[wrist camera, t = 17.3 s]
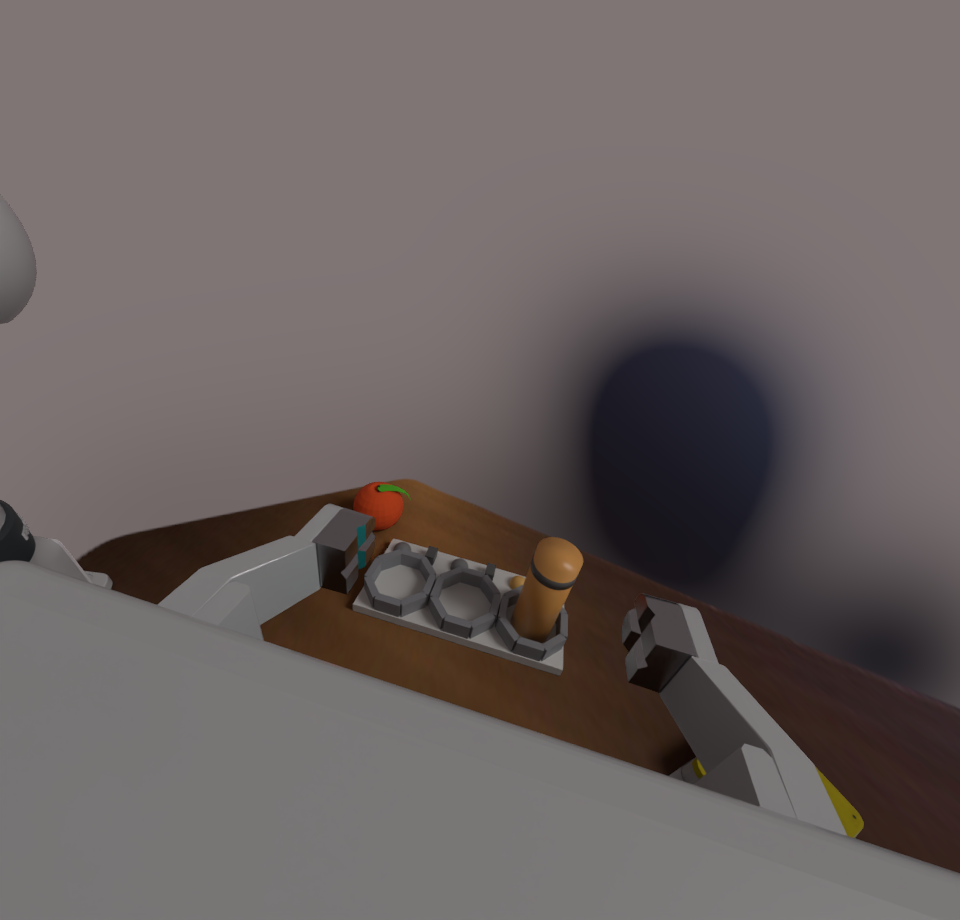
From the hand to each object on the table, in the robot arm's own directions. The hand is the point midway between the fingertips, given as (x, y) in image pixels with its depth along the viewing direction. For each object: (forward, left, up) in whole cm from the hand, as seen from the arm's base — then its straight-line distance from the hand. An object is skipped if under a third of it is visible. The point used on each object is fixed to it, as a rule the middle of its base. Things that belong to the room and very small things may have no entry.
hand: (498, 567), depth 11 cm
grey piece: (-2, +21, -30) cm, 37 cm away
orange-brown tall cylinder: (+6, +20, -29) cm, 35 cm away
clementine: (-17, +30, -30) cm, 46 cm away
